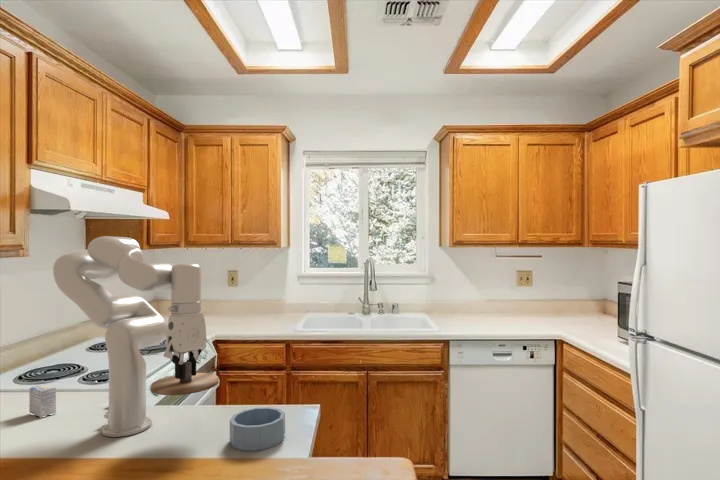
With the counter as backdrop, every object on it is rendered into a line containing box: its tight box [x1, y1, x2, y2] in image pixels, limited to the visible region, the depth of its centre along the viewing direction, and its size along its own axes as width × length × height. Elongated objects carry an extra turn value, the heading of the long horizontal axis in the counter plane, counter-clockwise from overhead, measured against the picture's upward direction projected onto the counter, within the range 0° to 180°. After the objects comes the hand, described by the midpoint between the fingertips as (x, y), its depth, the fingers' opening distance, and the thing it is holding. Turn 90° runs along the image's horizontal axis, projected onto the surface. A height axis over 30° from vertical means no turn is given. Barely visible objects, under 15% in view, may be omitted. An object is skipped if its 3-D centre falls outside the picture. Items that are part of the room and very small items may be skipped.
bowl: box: [229, 406, 286, 452], centre depth 111 cm, size 14×14×6 cm
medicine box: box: [28, 384, 57, 418], centre depth 134 cm, size 8×4×9 cm, turn 59°
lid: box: [150, 360, 220, 396], centre depth 113 cm, size 17×17×6 cm
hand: (185, 376), depth 113 cm, fingers closed on lid, 3 cm apart
